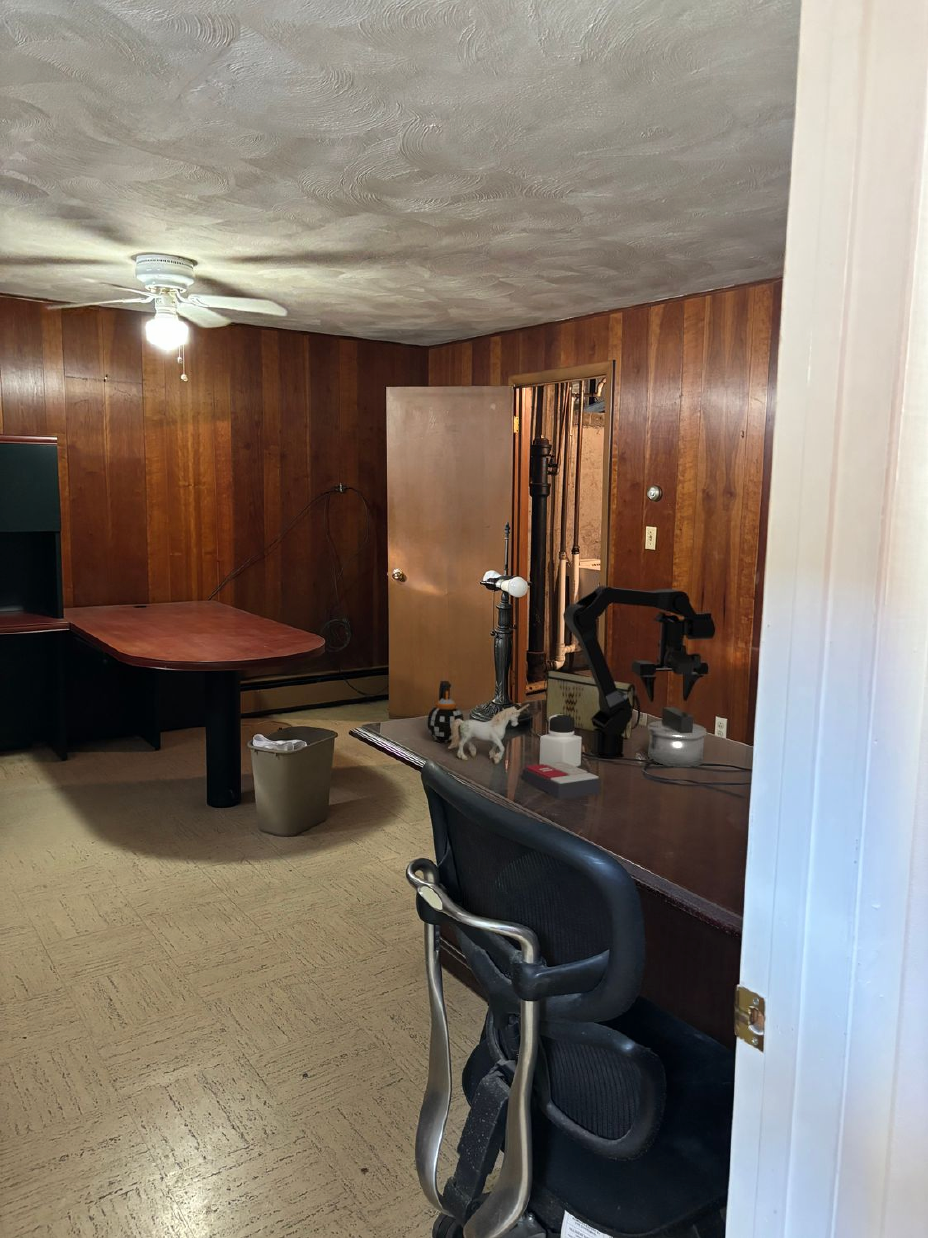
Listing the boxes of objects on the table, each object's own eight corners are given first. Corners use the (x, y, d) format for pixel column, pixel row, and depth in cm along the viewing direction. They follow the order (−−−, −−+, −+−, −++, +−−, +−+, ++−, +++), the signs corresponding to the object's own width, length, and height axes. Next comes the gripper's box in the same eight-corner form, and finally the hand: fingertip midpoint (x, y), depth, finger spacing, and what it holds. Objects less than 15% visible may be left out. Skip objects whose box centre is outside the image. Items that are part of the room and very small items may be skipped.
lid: (717, 738, 213) (718, 717, 212) (663, 740, 209) (664, 719, 208) (688, 723, 226) (689, 704, 225) (637, 725, 223) (638, 706, 222)
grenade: (423, 734, 235) (425, 679, 233) (459, 734, 237) (460, 678, 235) (429, 746, 224) (430, 688, 222) (466, 745, 226) (468, 687, 224)
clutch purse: (644, 736, 240) (647, 682, 238) (631, 741, 234) (634, 685, 232) (551, 717, 258) (553, 666, 256) (537, 721, 253) (539, 670, 251)
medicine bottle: (581, 765, 211) (583, 716, 210) (562, 772, 206) (565, 721, 205) (556, 759, 216) (558, 711, 215) (538, 765, 211) (540, 715, 209)
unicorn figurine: (529, 766, 210) (531, 710, 208) (446, 763, 210) (448, 708, 208) (527, 757, 217) (529, 703, 215) (447, 755, 217) (449, 701, 215)
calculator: (562, 759, 204) (602, 774, 191) (562, 778, 205) (601, 794, 192) (521, 765, 199) (559, 781, 186) (521, 784, 200) (559, 801, 186)
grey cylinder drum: (662, 768, 211) (664, 739, 210) (639, 753, 223) (640, 726, 222) (712, 766, 214) (714, 737, 213) (686, 751, 226) (687, 724, 225)
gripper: (652, 645, 212) (648, 709, 214) (722, 644, 216) (718, 707, 218) (632, 638, 222) (628, 699, 224) (699, 637, 227) (695, 697, 229)
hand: (668, 701), depth 224 cm, fingers open, 9 cm apart
